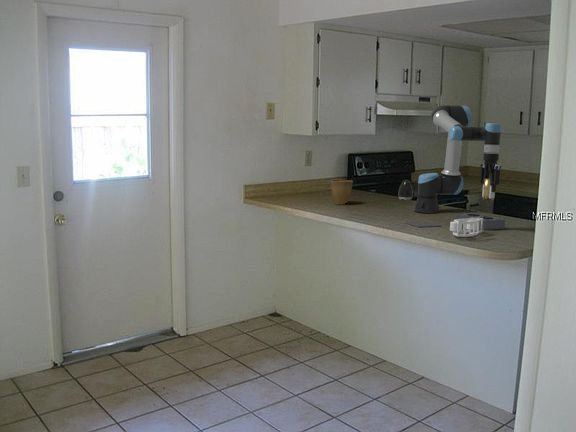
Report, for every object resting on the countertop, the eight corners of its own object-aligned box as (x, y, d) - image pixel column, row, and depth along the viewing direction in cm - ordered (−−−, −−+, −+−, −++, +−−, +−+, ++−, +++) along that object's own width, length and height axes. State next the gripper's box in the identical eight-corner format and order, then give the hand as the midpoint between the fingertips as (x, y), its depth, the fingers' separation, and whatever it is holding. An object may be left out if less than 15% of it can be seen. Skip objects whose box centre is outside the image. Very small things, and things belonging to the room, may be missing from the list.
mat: (404, 223, 327) (404, 222, 327) (426, 222, 332) (426, 221, 331) (418, 227, 314) (418, 226, 314) (441, 226, 318) (441, 225, 318)
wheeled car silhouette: (474, 230, 308) (475, 216, 307) (490, 234, 299) (491, 219, 298) (444, 233, 299) (445, 218, 298) (460, 237, 289) (461, 222, 288)
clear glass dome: (405, 202, 414) (406, 180, 411) (394, 201, 422) (395, 179, 420) (415, 201, 420) (417, 180, 417) (404, 200, 428) (405, 178, 426)
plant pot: (353, 206, 391) (354, 181, 389) (330, 205, 391) (331, 181, 389) (351, 203, 406) (352, 179, 403) (329, 202, 406) (329, 179, 404)
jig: (455, 222, 332) (456, 213, 331) (475, 221, 337) (476, 212, 336) (483, 230, 310) (484, 220, 309) (504, 229, 314) (505, 219, 313)
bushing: (481, 199, 317) (482, 178, 315) (488, 199, 319) (490, 178, 317) (487, 200, 312) (488, 179, 311) (495, 200, 314) (496, 179, 313)
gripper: (474, 152, 319) (471, 195, 323) (496, 153, 302) (493, 199, 306) (486, 152, 322) (483, 195, 325) (509, 153, 305) (505, 199, 308)
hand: (488, 197), depth 315 cm, fingers closed on bushing, 5 cm apart
